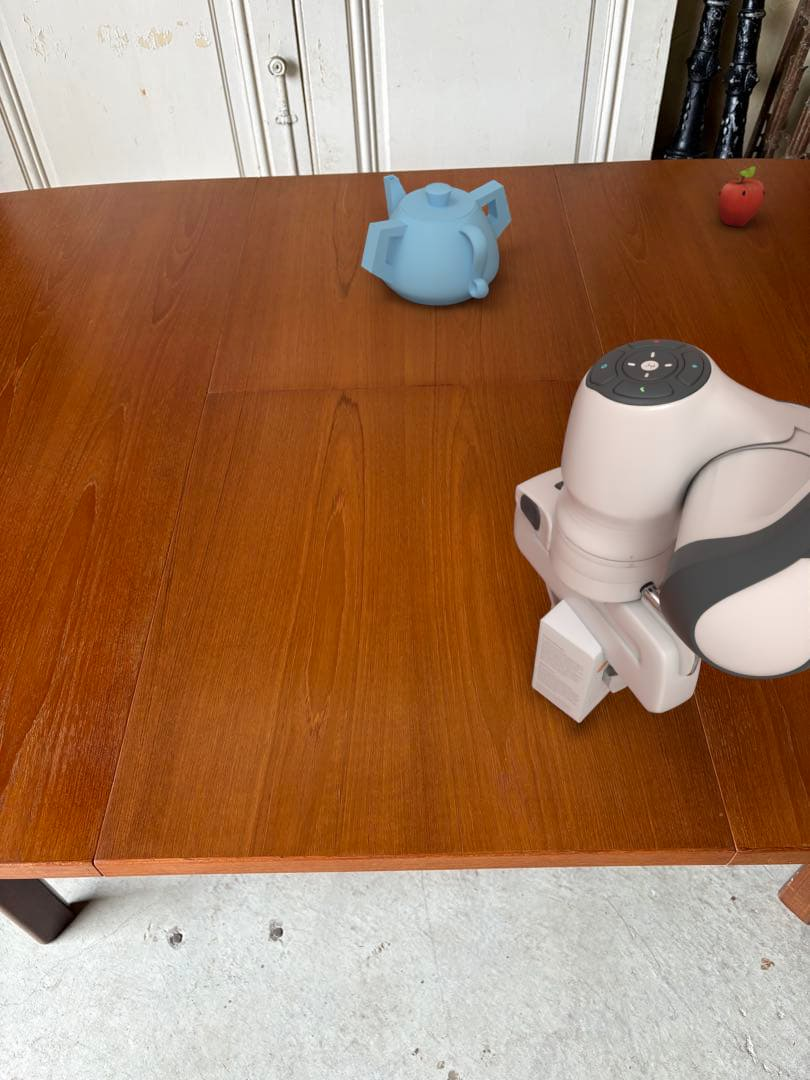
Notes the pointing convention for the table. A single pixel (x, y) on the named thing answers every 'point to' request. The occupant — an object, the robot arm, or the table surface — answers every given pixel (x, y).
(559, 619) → the small box
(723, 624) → the robot arm
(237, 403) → the table surface
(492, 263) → the teapot
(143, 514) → the table surface
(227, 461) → the table surface
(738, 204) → the apple
